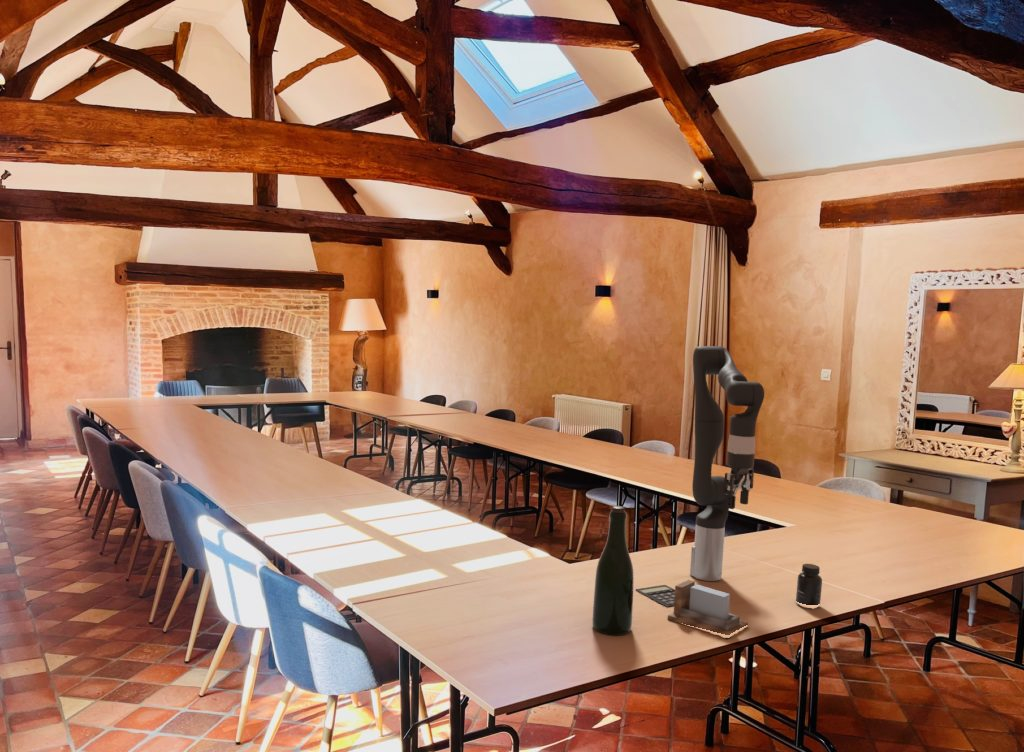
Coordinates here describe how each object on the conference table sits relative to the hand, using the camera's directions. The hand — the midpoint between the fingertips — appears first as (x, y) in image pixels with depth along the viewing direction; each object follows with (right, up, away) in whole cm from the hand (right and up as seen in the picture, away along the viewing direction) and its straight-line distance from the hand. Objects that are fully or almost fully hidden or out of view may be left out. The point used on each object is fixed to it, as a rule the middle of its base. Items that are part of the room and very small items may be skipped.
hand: (737, 506), depth 223 cm
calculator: (-19, -29, +10) cm, 36 cm away
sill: (-11, -31, -10) cm, 34 cm away
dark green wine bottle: (-39, -30, -17) cm, 52 cm away
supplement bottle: (+23, -31, +7) cm, 39 cm away
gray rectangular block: (-11, -29, -10) cm, 33 cm away
